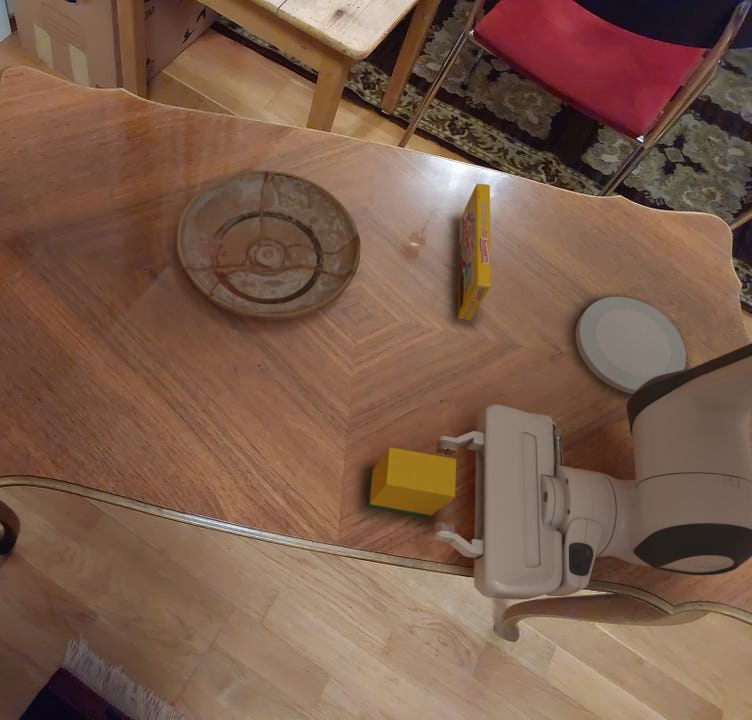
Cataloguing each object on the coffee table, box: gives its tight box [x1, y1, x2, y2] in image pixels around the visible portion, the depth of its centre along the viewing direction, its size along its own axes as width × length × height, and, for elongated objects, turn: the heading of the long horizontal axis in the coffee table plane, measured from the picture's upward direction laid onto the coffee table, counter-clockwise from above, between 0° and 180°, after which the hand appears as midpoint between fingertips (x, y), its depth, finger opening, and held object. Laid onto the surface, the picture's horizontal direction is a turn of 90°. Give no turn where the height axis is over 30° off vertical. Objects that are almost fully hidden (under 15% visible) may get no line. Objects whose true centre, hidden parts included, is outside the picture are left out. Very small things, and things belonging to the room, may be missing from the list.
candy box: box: [457, 183, 492, 321], centre depth 86 cm, size 16×2×8 cm, turn 172°
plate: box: [574, 296, 687, 395], centre depth 85 cm, size 14×14×1 cm
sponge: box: [366, 446, 457, 519], centre depth 70 cm, size 4×7×9 cm, turn 81°
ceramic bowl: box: [176, 170, 362, 322], centre depth 85 cm, size 23×24×5 cm
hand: (436, 485), depth 69 cm, fingers open, 8 cm apart
